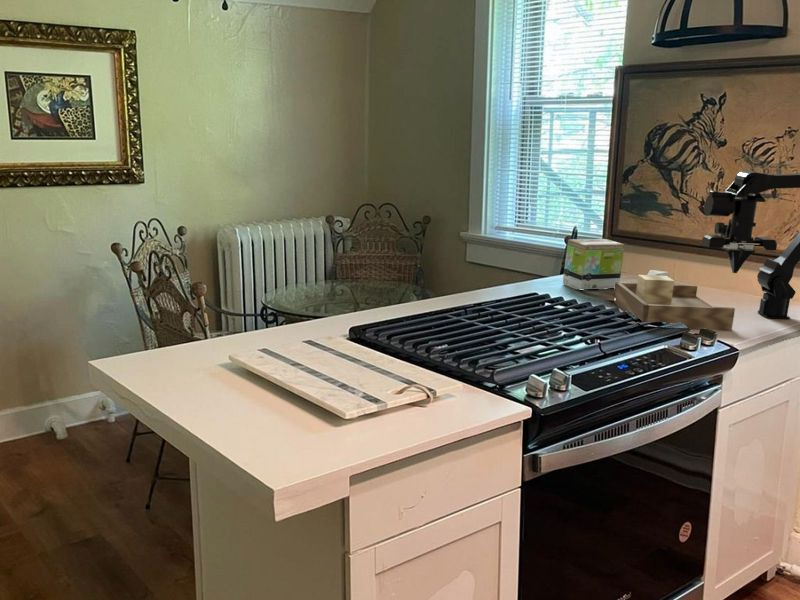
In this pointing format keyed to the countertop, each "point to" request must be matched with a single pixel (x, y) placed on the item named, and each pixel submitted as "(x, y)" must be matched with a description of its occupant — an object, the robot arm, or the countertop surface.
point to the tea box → (593, 263)
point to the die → (658, 273)
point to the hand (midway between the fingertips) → (734, 272)
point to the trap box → (675, 308)
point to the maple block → (655, 289)
